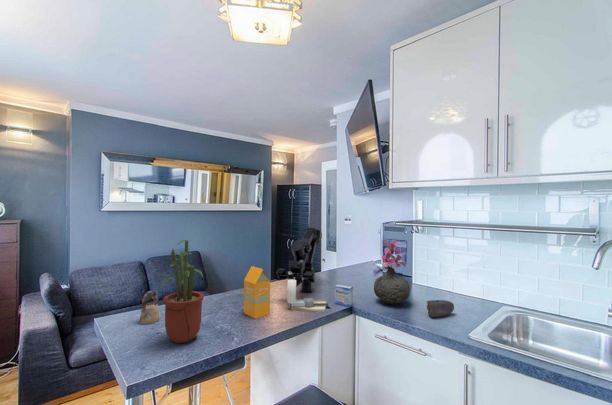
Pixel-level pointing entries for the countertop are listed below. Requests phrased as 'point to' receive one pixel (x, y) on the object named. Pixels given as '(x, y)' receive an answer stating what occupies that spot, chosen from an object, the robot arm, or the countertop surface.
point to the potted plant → (183, 303)
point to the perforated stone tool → (439, 308)
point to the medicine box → (343, 295)
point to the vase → (391, 279)
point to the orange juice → (256, 293)
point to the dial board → (315, 308)
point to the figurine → (149, 308)
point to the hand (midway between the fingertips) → (291, 291)
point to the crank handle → (292, 296)
